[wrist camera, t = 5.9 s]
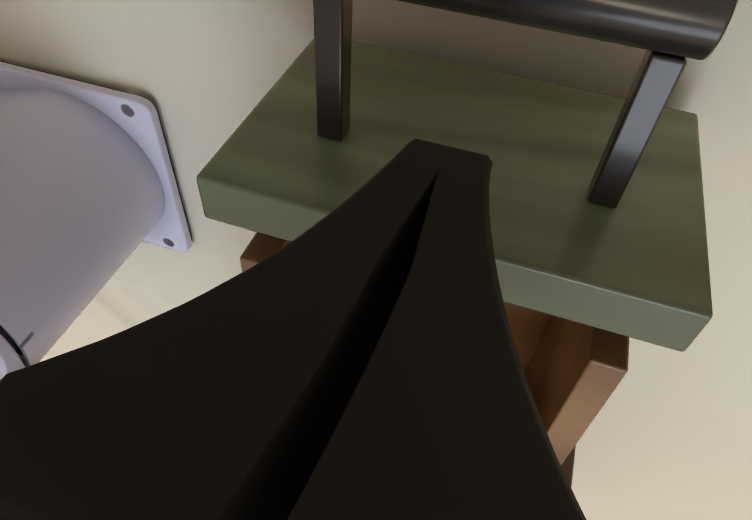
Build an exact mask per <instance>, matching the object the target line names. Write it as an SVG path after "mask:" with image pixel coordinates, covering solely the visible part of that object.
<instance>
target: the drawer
mask: <svg viewBox="0 0 752 520" xmlns="http://www.w3.org/2000/svg"><path fill="white" fill-rule="evenodd" d="M398 1H403V2H408V3H413V4H418V5H423V6H428V7H433V8H438V9H443V10H448V11H453V12H458V13H464V14H469V15H474V16H479V17H484V18H489V19H494V20H499V21H504V22H509V23H514V24H519V25H524V26H529V27H535V28H540V29H545V30H550V31H555V32H560V33H565V34H570V35H575V36H580V37H585V38H590V39H595V40H600V41H606V42H611V43H616V44H621V45H626V46H631V47H636V48H641V49H646V53H645V55H644V57H643V60H642V62H641V64H640V67H639V69H638V72H637V74H636V76H635V79H634V81H633V83H632V86H631V88H630V90H629V93H628V95H627V98H626V99H624V98H619V97H615V96H610V95H605V94H600V93H596V92H591V91H586V90H582V89H577V88H572V87H568V86H563V85H558V84H553V83H549V82H544V81H539V80H535V79H530V78H525V77H521V76H516V75H511V74H506V73H502V72H497V71H492V70H488V69H483V68H478V67H474V66H469V65H464V64H459V63H455V62H450V61H445V60H441V59H436V58H431V57H427V56H422V55H417V54H413V53H408V52H403V51H398V50H394V49H389V48H384V47H380V46H375V45H370V44H366V43H361V42H356V41H352V0H313V6H314V39H313V40H312V41H311V42H310V44H309V45H308V46H307V47H306V48H305V49H304V51H303V52H302V53H301V54H300V55H299V56H298V58H297V59H296V60H295V61H294V62H293V64H292V65H291V66H290V67H289V68H288V69H287V71H286V72H285V73H284V74H283V75H282V76H281V78H280V79H279V80H278V81H277V82H276V84H275V85H274V86H273V87H272V88H271V89H270V91H269V92H268V93H267V94H266V95H265V96H264V98H263V99H262V100H261V101H260V102H259V103H258V105H257V106H256V107H255V108H254V109H253V111H252V112H251V113H250V114H249V115H248V116H247V118H246V119H245V120H244V121H243V122H242V123H241V125H240V126H239V127H238V128H237V129H236V131H235V132H234V133H233V134H232V135H231V136H230V138H229V139H228V140H227V141H226V142H225V143H224V145H223V146H222V147H221V148H220V149H219V151H218V152H217V153H216V154H215V155H214V156H213V158H212V159H211V160H210V161H209V162H208V163H207V165H206V166H205V167H204V168H203V169H202V171H201V172H200V173H199V174H198V175H197V184H198V188H199V192H200V197H201V201H202V205H203V209H204V214H205V216H206V217H207V218H210V219H213V220H217V221H220V222H224V223H227V224H231V225H234V226H238V227H241V228H245V229H248V230H252V231H256V232H257V233H256V234H255V236H254V237H253V239H252V240H251V242H250V243H249V245H248V246H247V248H246V249H245V251H244V252H243V254H242V255H241V257H240V261H241V267H242V272H244V271H246V270H248V269H249V268H251V267H252V266H254V265H256V264H257V263H259V262H261V261H262V260H264V259H265V258H267V257H269V256H270V255H272V254H273V253H275V252H276V251H278V250H280V249H281V248H283V247H284V246H285V245H287V244H288V243H290V242H291V241H293V240H294V239H296V238H297V237H299V236H300V235H301V234H303V233H304V232H305V231H307V230H308V229H309V228H311V227H312V226H313V225H315V224H316V223H317V222H319V221H320V220H321V219H323V218H324V217H325V216H327V215H328V214H329V213H331V212H332V211H333V210H335V209H336V208H337V207H338V206H340V205H341V204H342V203H343V202H344V201H346V200H347V199H348V198H349V197H350V196H351V195H353V194H354V193H355V192H356V191H357V190H359V189H360V188H361V187H362V186H363V185H364V184H366V183H367V182H368V181H369V180H370V179H371V178H372V177H373V176H374V175H376V174H377V173H378V172H379V171H380V170H381V169H382V168H383V167H384V166H385V165H386V164H387V163H388V162H390V161H391V160H392V159H393V158H394V157H395V156H396V155H397V154H398V153H399V152H400V151H401V150H402V149H403V148H404V147H405V146H406V145H407V143H408V142H410V141H412V140H414V139H415V138H416V139H421V140H425V141H429V142H433V143H438V144H442V145H446V146H450V147H454V148H459V149H463V150H467V151H471V152H476V153H480V154H484V155H488V156H489V158H490V159H491V161H492V162H493V165H492V169H491V174H490V184H489V207H490V223H491V232H492V240H493V248H494V256H495V262H496V267H497V273H498V278H499V283H500V288H501V293H502V297H503V302H504V306H505V310H506V314H507V318H508V322H509V326H510V329H511V333H512V336H513V339H514V343H515V346H516V350H517V353H518V356H519V359H520V362H521V365H522V368H523V371H524V374H525V377H526V380H527V383H528V386H529V389H530V391H531V394H532V396H533V399H534V401H535V404H536V406H537V409H538V411H539V414H540V416H541V419H542V421H543V424H544V426H545V429H546V431H547V434H548V437H549V439H550V442H551V444H552V447H553V449H554V452H555V454H556V456H557V458H558V461H559V463H560V465H561V464H562V463H563V462H564V460H565V459H566V457H567V456H568V455H569V453H570V452H571V450H572V449H573V448H574V446H575V445H576V443H577V442H578V440H579V439H580V438H581V436H582V435H583V433H584V432H585V431H586V429H587V428H588V426H589V425H590V424H591V422H592V421H593V419H594V418H595V416H596V415H597V414H598V412H599V411H600V409H601V408H602V407H603V405H604V404H605V402H606V401H607V400H608V398H609V397H610V395H611V394H612V392H613V391H614V390H615V388H616V387H617V385H618V384H619V383H620V381H621V380H622V378H623V377H624V376H625V374H626V373H627V371H628V355H629V337H631V338H635V339H638V340H642V341H645V342H649V343H652V344H656V345H659V346H663V347H666V348H670V349H673V350H677V351H685V350H686V349H687V348H688V347H689V345H690V344H691V343H692V342H693V340H694V339H695V338H696V337H697V335H698V334H699V333H700V332H701V330H702V329H703V328H704V327H705V325H706V324H707V323H708V322H709V321H710V319H711V318H712V315H713V313H712V300H711V287H710V275H709V262H708V249H707V236H706V223H705V210H704V198H703V185H702V172H701V159H700V146H699V133H698V121H697V115H696V114H694V113H690V112H685V111H680V110H676V109H671V108H666V105H667V103H668V101H669V99H670V97H671V95H672V93H673V91H674V89H675V87H676V85H677V82H678V80H679V78H680V76H681V74H682V72H683V70H684V68H685V66H686V64H687V60H686V57H687V58H692V59H697V60H704V59H706V58H707V57H708V56H709V55H710V54H711V53H712V52H713V50H714V49H715V48H716V46H717V45H718V43H719V42H720V40H721V38H722V36H723V34H724V33H725V31H726V29H727V26H728V24H729V22H730V20H731V17H732V15H733V13H734V10H735V7H736V5H737V2H738V0H398Z"/></svg>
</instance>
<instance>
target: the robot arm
mask: <svg viewBox="0 0 752 520" xmlns="http://www.w3.org/2000/svg"><path fill="white" fill-rule="evenodd" d="M129 106H130V107H131V108H132V109H131V108H130V107H129ZM492 165H493V162H492V161H491V159H490V158H489V156H488V155H484V154H480V153H476V152H471V151H467V150H463V149H459V148H454V147H450V146H446V145H442V144H438V143H433V142H429V141H425V140H421V139H416V138H415V139H414V140H412V141H410V142H408V143H407V145H406V146H405V147H404V148H403V149H402V150H401V151H400V152H399V153H398V154H397V155H396V156H395V157H394V158H393V159H392V160H391V161H390V162H388V163H387V164H386V165H385V166H384V167H383V168H382V169H381V170H380V171H379V172H378V173H377V174H376V175H374V176H373V177H372V178H371V179H370V180H369V181H368V182H367V183H366V184H364V185H363V186H362V187H361V188H360V189H359V190H357V191H356V192H355V193H354V194H353V195H351V196H350V197H349V198H348V199H347V200H346V201H344V202H343V203H342V204H341V205H340V206H338V207H337V208H336V209H335V210H333V211H332V212H331V213H329V214H328V215H327V216H325V217H324V218H323V219H321V220H320V221H319V222H317V223H316V224H315V225H313V226H312V227H311V228H309V229H308V230H307V231H305V232H304V233H303V234H301V235H300V236H299V237H297V238H296V239H294V240H293V241H291V242H290V243H288V244H287V245H285V246H284V247H283V248H281V249H280V250H278V251H276V252H275V253H273V254H272V255H270V256H269V257H267V258H265V259H264V260H262V261H261V262H259V263H257V264H256V265H254V266H252V267H251V268H249V269H248V270H246V271H244V272H242V273H241V274H239V275H237V276H235V277H233V278H232V279H230V280H228V281H226V282H224V283H222V284H221V285H219V286H217V287H215V288H213V289H212V290H210V291H208V292H206V293H204V294H202V295H200V296H198V297H196V298H194V299H192V300H190V301H188V302H186V303H184V304H182V305H180V306H178V307H176V308H174V309H171V310H169V311H167V312H165V313H162V314H160V315H158V316H156V317H154V318H151V319H149V320H147V321H145V322H142V323H140V324H138V325H136V326H133V327H131V328H129V329H127V330H124V331H122V332H120V333H117V334H115V335H112V336H110V337H108V338H105V339H103V340H100V341H98V342H95V343H92V344H89V345H87V346H84V347H81V348H78V349H76V350H73V351H70V352H67V353H64V354H62V355H59V356H56V357H53V358H50V359H48V360H45V361H42V362H40V360H41V359H42V358H43V357H44V356H45V355H46V353H47V352H48V351H49V350H50V349H51V348H52V346H53V345H54V344H55V343H56V342H57V340H58V339H59V338H60V337H61V336H62V335H63V333H64V332H65V331H66V330H67V329H68V328H69V326H70V325H71V324H72V323H73V322H74V320H75V319H76V318H77V317H78V316H79V315H80V313H81V312H82V311H83V310H84V309H85V308H86V306H87V305H88V304H89V303H90V302H91V300H92V299H93V298H94V297H95V296H96V295H97V293H98V292H99V291H100V290H101V289H102V287H103V286H104V285H105V284H106V283H107V282H108V280H109V279H110V278H111V277H112V276H113V275H114V273H115V272H116V271H117V270H118V269H119V267H120V266H121V265H122V264H123V263H124V262H125V260H126V259H127V258H128V257H129V256H130V255H131V253H132V252H133V251H134V250H135V249H136V247H137V246H138V245H139V244H140V243H141V242H142V241H145V242H148V243H152V244H155V245H158V246H162V247H165V248H168V249H172V250H175V251H179V252H183V253H185V252H188V250H189V249H190V248H191V247H192V241H191V237H190V233H189V229H188V226H187V222H186V218H185V214H184V211H183V207H182V203H181V200H180V196H179V192H178V188H177V185H176V181H175V177H174V173H173V170H172V166H171V162H170V159H169V155H168V151H167V147H166V144H165V140H164V136H163V133H162V129H161V125H160V121H159V118H158V114H157V111H156V108H155V106H154V105H153V104H152V103H151V102H150V101H149V100H148V99H146V98H144V97H141V96H137V95H133V94H129V93H125V92H121V91H117V90H113V89H109V88H105V87H101V86H96V85H92V84H88V83H84V82H80V81H76V80H72V79H68V78H64V77H60V76H56V75H52V74H48V73H44V72H40V71H36V70H32V69H28V68H24V67H20V66H16V65H12V64H8V63H3V62H0V520H586V518H585V516H584V514H583V512H582V510H581V508H580V506H579V504H578V502H577V500H576V498H575V496H574V493H573V491H572V489H571V487H570V485H569V482H568V480H567V478H566V476H565V474H564V471H563V469H562V467H561V465H560V463H559V461H558V458H557V456H556V454H555V452H554V449H553V447H552V444H551V442H550V439H549V437H548V434H547V431H546V429H545V426H544V424H543V421H542V419H541V416H540V414H539V411H538V409H537V406H536V404H535V401H534V399H533V396H532V394H531V391H530V389H529V386H528V383H527V380H526V377H525V374H524V371H523V368H522V365H521V362H520V359H519V356H518V353H517V350H516V346H515V343H514V339H513V336H512V333H511V329H510V326H509V322H508V318H507V314H506V310H505V306H504V302H503V297H502V293H501V288H500V283H499V278H498V273H497V267H496V262H495V256H494V248H493V240H492V232H491V223H490V207H489V184H490V174H491V169H492Z"/></svg>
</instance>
